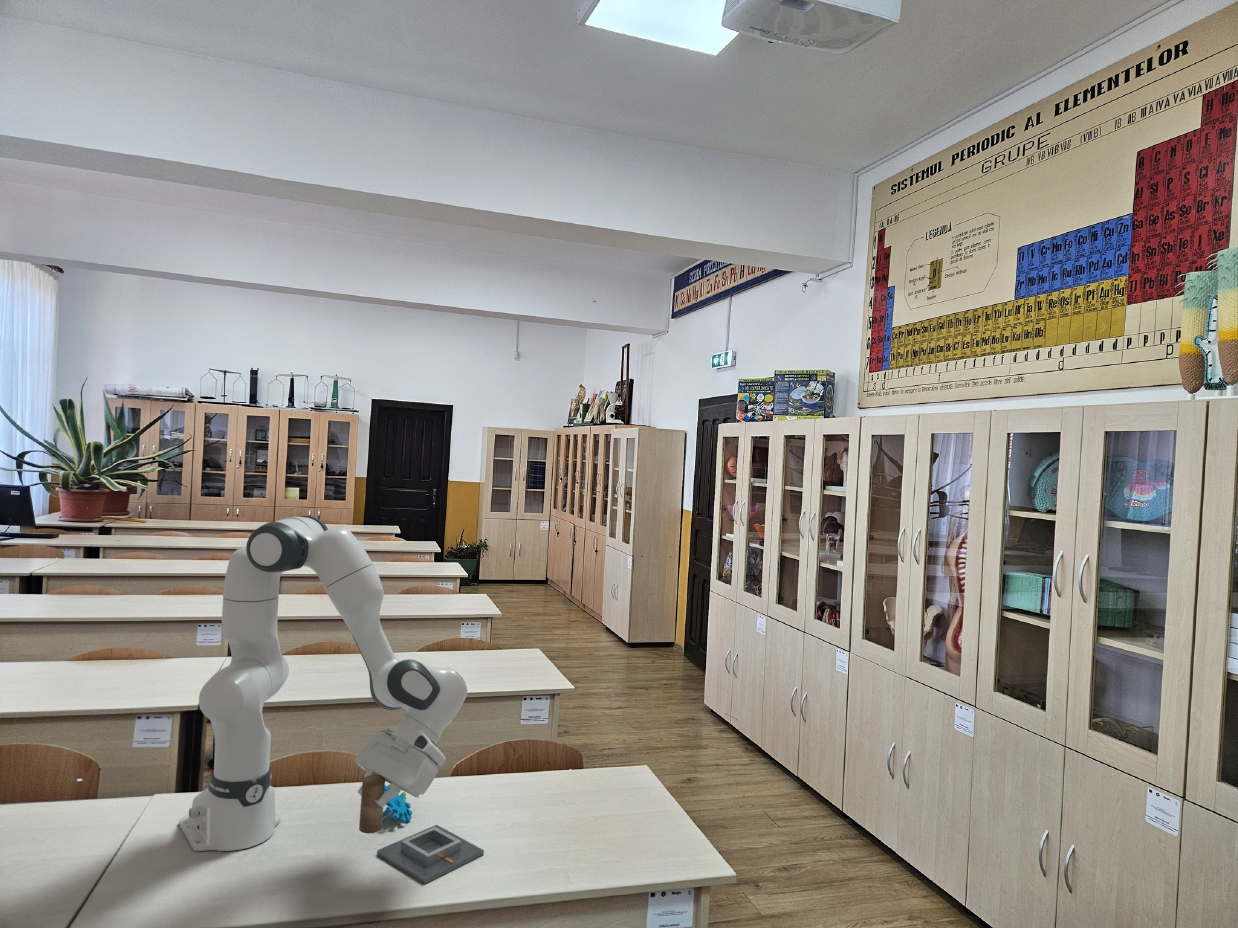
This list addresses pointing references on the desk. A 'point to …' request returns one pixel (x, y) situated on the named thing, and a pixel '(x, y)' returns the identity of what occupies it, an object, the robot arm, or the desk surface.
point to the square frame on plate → (430, 853)
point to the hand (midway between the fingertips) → (369, 800)
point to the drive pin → (371, 804)
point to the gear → (398, 807)
